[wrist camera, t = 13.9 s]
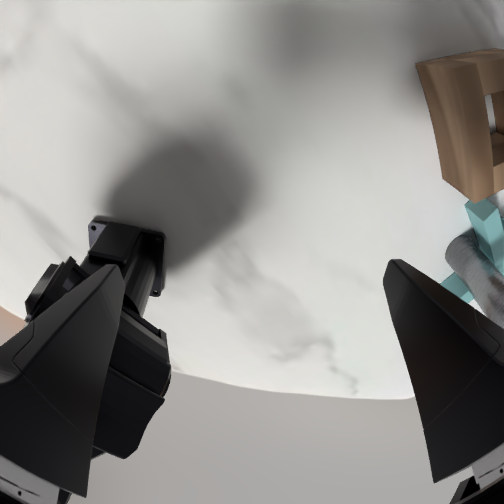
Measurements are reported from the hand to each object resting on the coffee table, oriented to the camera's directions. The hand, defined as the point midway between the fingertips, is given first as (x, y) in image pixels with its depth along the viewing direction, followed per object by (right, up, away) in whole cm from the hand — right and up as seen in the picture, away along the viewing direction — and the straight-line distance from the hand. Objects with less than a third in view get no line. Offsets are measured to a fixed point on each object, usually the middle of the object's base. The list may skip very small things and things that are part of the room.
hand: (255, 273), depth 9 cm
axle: (+20, +1, +15) cm, 25 cm away
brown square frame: (+18, +12, +7) cm, 22 cm away
